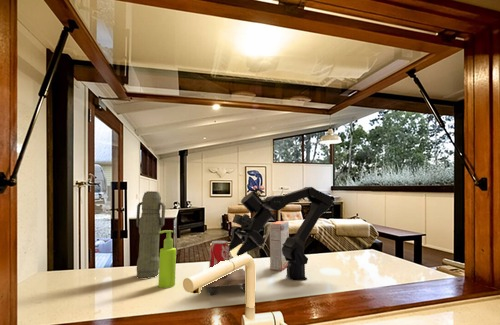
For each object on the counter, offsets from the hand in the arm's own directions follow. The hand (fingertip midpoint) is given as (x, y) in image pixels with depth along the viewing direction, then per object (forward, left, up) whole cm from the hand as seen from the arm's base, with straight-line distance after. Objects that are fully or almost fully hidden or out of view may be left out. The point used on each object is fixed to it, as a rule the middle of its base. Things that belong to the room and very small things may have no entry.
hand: (232, 252), depth 100 cm
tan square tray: (+2, 0, -12) cm, 12 cm away
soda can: (+5, +1, -8) cm, 9 cm away
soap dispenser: (+23, -9, -12) cm, 28 cm away
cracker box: (-29, -23, -12) cm, 39 cm away
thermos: (+30, -25, -12) cm, 41 cm away
